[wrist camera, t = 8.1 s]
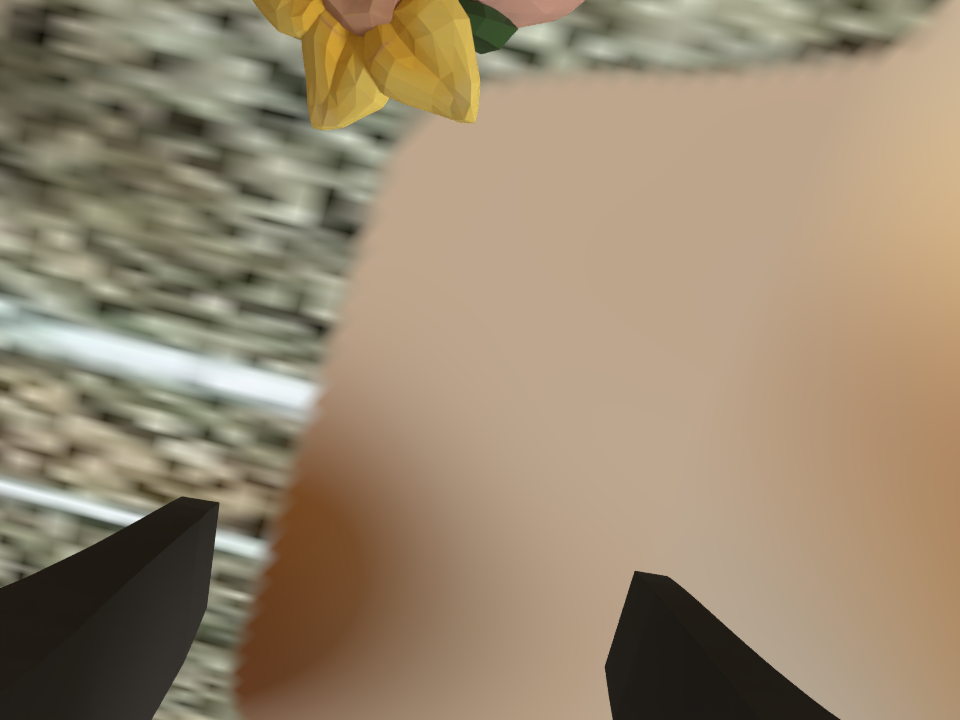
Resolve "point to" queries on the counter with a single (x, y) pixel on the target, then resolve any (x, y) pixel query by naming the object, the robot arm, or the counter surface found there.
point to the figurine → (400, 51)
